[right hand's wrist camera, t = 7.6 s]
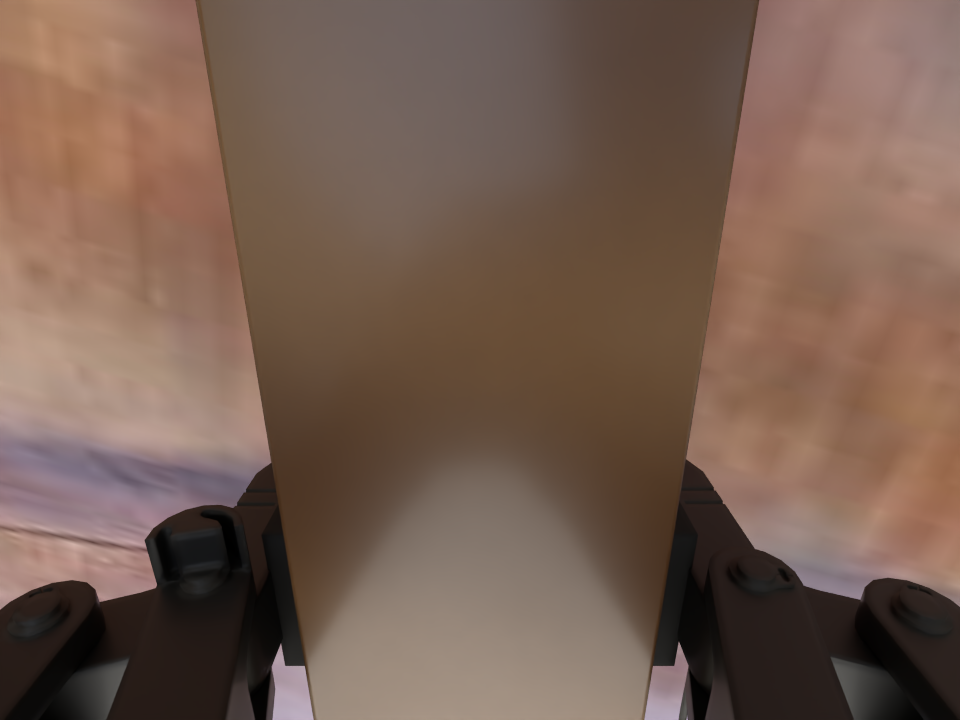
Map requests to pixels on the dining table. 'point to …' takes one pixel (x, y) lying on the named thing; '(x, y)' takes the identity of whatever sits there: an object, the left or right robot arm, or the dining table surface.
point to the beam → (478, 328)
